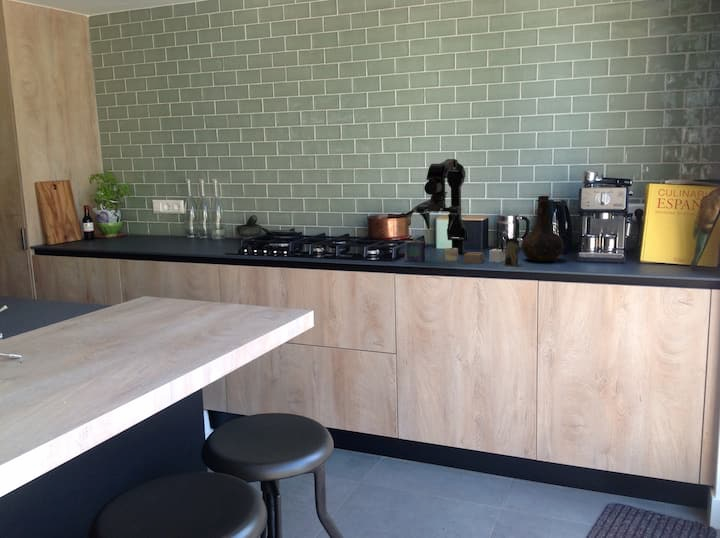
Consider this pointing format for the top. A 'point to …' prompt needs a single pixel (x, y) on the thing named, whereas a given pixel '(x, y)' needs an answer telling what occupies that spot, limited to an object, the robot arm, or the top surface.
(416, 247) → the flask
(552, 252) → the brown bottle vase
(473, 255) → the walnut block
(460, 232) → the robot arm
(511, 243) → the mug
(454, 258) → the beech block marked
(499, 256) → the grey block marked
